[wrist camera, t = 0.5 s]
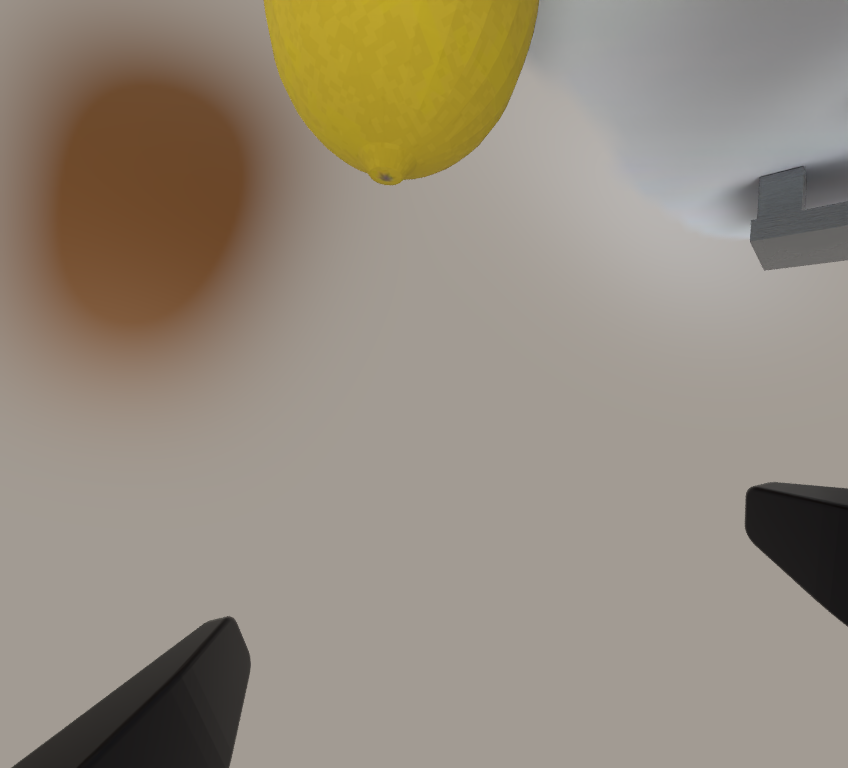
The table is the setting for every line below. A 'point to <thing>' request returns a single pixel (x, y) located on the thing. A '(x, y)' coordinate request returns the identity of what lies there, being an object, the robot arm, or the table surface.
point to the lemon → (400, 76)
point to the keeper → (796, 225)
